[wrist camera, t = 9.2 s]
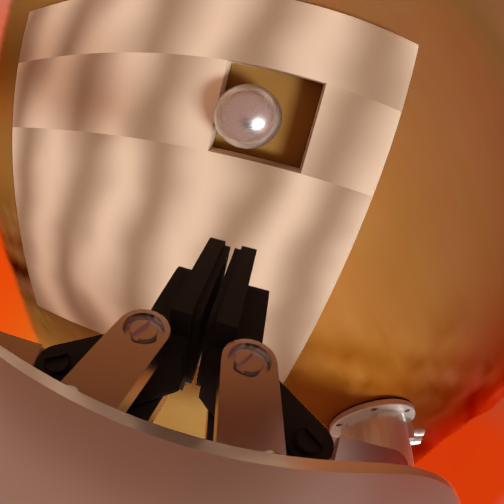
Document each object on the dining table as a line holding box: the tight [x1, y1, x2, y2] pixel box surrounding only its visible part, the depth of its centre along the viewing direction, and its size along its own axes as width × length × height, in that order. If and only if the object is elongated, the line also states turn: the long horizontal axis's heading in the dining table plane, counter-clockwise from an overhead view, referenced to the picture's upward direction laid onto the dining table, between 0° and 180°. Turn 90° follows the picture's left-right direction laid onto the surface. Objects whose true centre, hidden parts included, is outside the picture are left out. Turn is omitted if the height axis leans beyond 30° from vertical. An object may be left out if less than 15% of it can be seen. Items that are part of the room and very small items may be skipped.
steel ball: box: [214, 84, 282, 149], centre depth 16 cm, size 4×4×4 cm
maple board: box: [12, 0, 419, 384], centre depth 21 cm, size 30×32×2 cm
